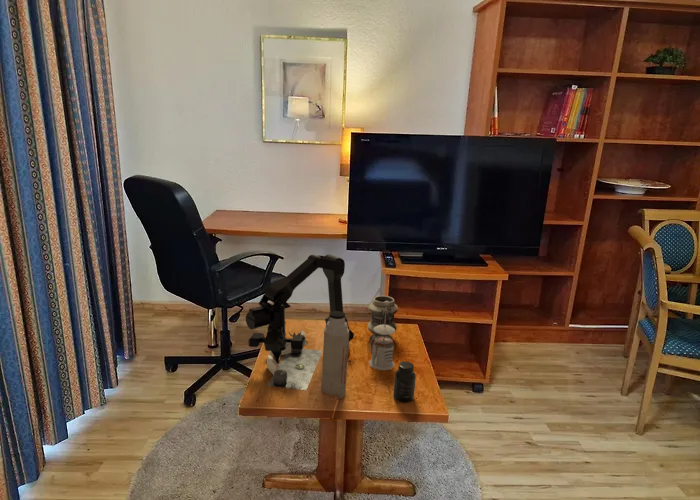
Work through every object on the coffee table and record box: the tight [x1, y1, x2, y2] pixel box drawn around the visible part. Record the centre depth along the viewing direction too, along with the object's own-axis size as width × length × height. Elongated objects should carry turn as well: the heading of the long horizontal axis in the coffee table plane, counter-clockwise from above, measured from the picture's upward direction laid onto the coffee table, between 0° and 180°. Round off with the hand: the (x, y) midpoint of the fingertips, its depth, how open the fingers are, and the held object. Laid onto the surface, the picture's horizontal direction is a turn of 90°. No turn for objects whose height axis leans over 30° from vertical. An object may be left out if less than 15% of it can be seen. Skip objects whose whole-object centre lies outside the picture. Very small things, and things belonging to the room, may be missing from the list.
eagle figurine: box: [288, 330, 309, 347], centre depth 190 cm, size 8×7×9 cm
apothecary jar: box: [367, 295, 399, 343], centre depth 199 cm, size 12×12×18 cm
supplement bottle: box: [392, 360, 417, 404], centre depth 157 cm, size 7×7×12 cm
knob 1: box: [268, 344, 302, 358], centre depth 180 cm, size 13×4×4 cm, turn 123°
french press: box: [368, 301, 396, 371], centre depth 177 cm, size 10×12×25 cm
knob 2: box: [266, 354, 287, 385], centre depth 164 cm, size 13×4×4 cm, turn 30°
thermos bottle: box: [321, 311, 350, 400], centre depth 156 cm, size 8×8×28 cm
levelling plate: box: [267, 348, 323, 391], centre depth 171 cm, size 13×29×2 cm, turn 173°
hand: (277, 363), depth 167 cm, fingers closed
